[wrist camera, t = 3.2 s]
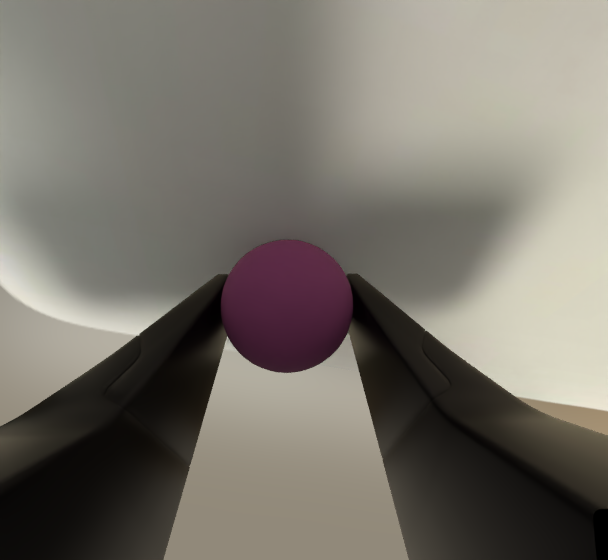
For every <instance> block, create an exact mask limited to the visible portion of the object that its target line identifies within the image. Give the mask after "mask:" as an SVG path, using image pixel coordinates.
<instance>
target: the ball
mask: <svg viewBox="0 0 608 560" xmlns="http://www.w3.org/2000/svg"><path fill="white" fill-rule="evenodd" d="M352 314H353V296H352V291H351V287H350V284H349V281H348V279H347V277H346V275H345V273H344V271H343V270H342V268H341V267H340V265H339V264H338V263H337V262H336V261H335V260H334V258H332V257H331V256H330V255H329V254H328V253H326V252H325V251H324V250H322V249H320V248H319V247H316V246H314V245H312V244H309V243H306V242H303V241H297V240H278V241H272V242H269V243H266V244H263V245H261V246H258V247H256V248H255V249H253V250H251V251H250V252H248V253H247V254H246V255H245V256H243V257H242V258H241V259H240V260H239V261H238V263H237V264H236V265H235V266H234V267H233V269H232V270H231V272H230V274H229V275H228V278H227V280H226V282H225V285H224V288H223V292H222V297H221V316H222V322H223V326H224V329H225V331H226V334H227V336H228V338H229V339H230V341H231V343H232V344H233V346H234V347H235V348H236V349H237V350H238V352H239V353H240V354H241V355H242V356H243V357H245V358H246V359H247V360H249V361H250V362H251V363H253V364H255V365H257V366H259V367H261V368H264V369H267V370H270V371H274V372H283V373H291V372H298V371H303V370H306V369H309V368H312V367H314V366H316V365H318V364H320V363H322V362H323V361H324V360H326V359H327V358H329V357H330V356H331V355H332V354H333V353H334V352H335V351H336V350H337V349H338V347H339V346H340V345H341V343H342V342H343V340H344V338H345V337H346V335H347V333H348V330H349V327H350V324H351V320H352Z"/></svg>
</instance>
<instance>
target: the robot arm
mask: <svg viewBox="0 0 608 560" xmlns="http://www.w3.org/2000/svg"><path fill="white" fill-rule="evenodd" d="M346 277H347V279H348V281H349V284H350V287H351V291H352V296H353V314H352V320H351V324H350V327H349V335H350V339H351V342H352V346H353V350H354V354H355V357H356V361H357V365H358V369H359V372H360V376H361V380H362V384H363V388H364V391H365V395H366V399H367V403H368V406H369V410H370V414H371V417H372V421H373V425H374V429H375V432H376V437H377V440H378V444H379V448H380V452H381V455H382V458H383V463H384V467H385V471H386V475H387V478H388V482H389V486H390V490H391V494H392V497H393V501H394V505H395V509H396V513H397V516H398V520H399V524H400V527H401V531H402V535H403V539H404V543H405V547H406V550H407V554H408V558H409V560H608V436H607V435H604V434H602V433H598V432H595V431H593V430H589V429H587V428H584V427H580V426H578V425H575V424H572V423H569V422H566V421H563V420H560V419H557V418H554V417H552V416H549V415H547V414H545V413H542V412H540V411H538V410H536V409H534V408H532V407H531V406H529V405H527V404H526V403H524V402H522V401H521V400H519V399H518V398H516V397H515V396H513V395H512V394H511V393H509V392H508V391H506V390H505V389H504V388H502V387H501V386H499V385H498V384H497V383H495V382H494V381H492V380H491V379H490V378H488V377H487V376H485V375H484V374H483V373H481V372H480V371H478V370H477V369H476V368H474V367H473V366H471V365H470V364H469V363H467V362H466V361H465V360H463V359H462V358H460V357H459V356H458V355H456V354H455V353H454V352H452V351H451V350H450V349H448V348H447V347H446V346H445V345H443V344H442V343H441V342H440V341H438V340H437V339H436V338H435V337H433V336H432V335H431V334H430V333H429V332H427V331H425V329H424V328H423V327H421V326H420V325H419V324H418V323H416V322H415V321H414V320H413V319H412V318H410V317H409V316H408V315H407V314H406V313H404V312H403V311H402V310H401V309H400V308H398V307H397V306H396V305H395V304H394V303H392V302H391V301H390V300H389V299H388V298H386V297H385V296H384V295H383V294H382V293H380V292H379V291H378V290H377V289H376V288H374V287H373V286H372V285H371V284H369V283H368V282H367V281H366V280H365V279H363V278H362V277H361V276H360V275H359V274H347V275H346ZM227 278H228V274H218V275H216V276H215V277H214V278H213V279H211V280H210V281H209V282H207V283H206V284H205V285H203V286H202V287H201V288H199V289H198V290H197V291H195V292H194V293H193V294H191V295H190V296H189V297H188V298H186V299H185V300H184V301H182V302H181V303H180V304H178V305H177V306H176V307H174V308H173V309H172V310H170V311H169V312H168V313H166V314H165V315H164V316H162V317H161V318H160V319H159V320H157V321H156V322H155V323H153V324H152V325H151V326H149V327H148V328H147V329H145V330H144V331H143V332H141V333H140V334H139V336H136V337H135V338H133V339H132V340H131V341H129V342H128V343H127V344H125V345H124V346H123V347H121V348H120V349H119V350H117V351H116V352H115V353H114V354H112V355H110V356H109V357H108V358H106V359H105V360H104V361H102V362H100V363H99V364H97V365H96V366H95V367H93V368H92V369H90V370H89V371H87V372H86V373H84V374H83V375H81V376H80V377H78V378H77V379H75V380H74V381H72V382H71V383H69V384H68V385H67V386H65V387H63V388H62V389H60V390H59V391H57V392H56V393H54V394H53V395H51V396H50V397H48V398H47V399H45V400H44V401H42V402H41V403H39V404H38V405H36V406H35V407H33V408H32V409H30V410H28V411H27V412H25V413H24V414H22V415H21V416H19V417H17V418H15V419H14V420H12V421H10V422H8V423H6V424H4V425H2V426H0V560H163V559H164V555H165V552H166V548H167V545H168V541H169V538H170V534H171V531H172V527H173V524H174V520H175V517H176V513H177V510H178V506H179V503H180V499H181V496H182V492H183V489H184V485H185V482H186V478H187V475H188V471H189V468H190V467H189V466H190V464H191V460H192V457H193V454H194V450H195V446H196V443H197V440H198V436H199V433H200V429H201V425H202V422H203V418H204V415H205V412H206V408H207V404H208V401H209V397H210V394H211V391H212V387H213V384H214V380H215V376H216V373H217V370H218V366H219V363H220V359H221V356H222V352H223V349H224V345H225V342H226V338H227V334H226V331H225V329H224V326H223V322H222V316H221V297H222V292H223V288H224V285H225V282H226V280H227Z"/></svg>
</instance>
